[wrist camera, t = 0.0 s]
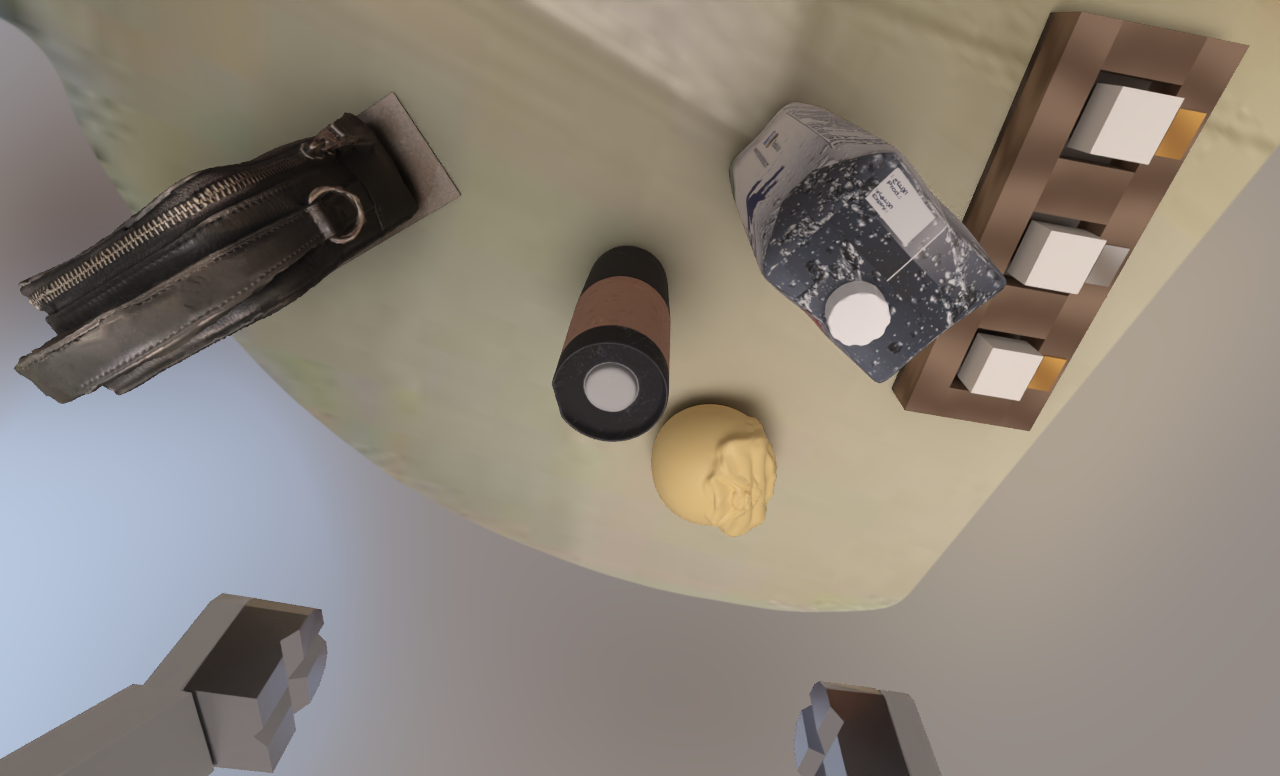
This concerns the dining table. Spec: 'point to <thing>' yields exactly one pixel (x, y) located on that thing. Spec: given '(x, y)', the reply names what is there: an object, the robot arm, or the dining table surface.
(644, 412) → the travel mug
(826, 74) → the dining table surface
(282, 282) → the shoulder bag
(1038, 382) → the button board
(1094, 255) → the button middle
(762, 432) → the sculpture
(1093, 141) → the button
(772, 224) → the juice carton
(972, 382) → the button
